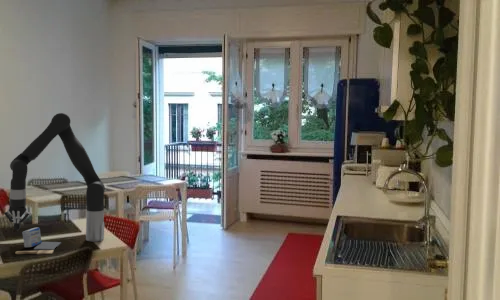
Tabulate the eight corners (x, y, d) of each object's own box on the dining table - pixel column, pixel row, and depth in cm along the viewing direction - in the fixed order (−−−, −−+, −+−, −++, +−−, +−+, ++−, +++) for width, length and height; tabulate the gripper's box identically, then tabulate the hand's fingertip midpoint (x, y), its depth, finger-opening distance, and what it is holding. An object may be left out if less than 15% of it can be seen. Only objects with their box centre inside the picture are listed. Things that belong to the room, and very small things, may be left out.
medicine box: (31, 247, 220) (29, 230, 220) (24, 247, 221) (21, 231, 221) (42, 243, 228) (39, 227, 227) (34, 243, 229) (32, 227, 228)
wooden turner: (53, 251, 218) (53, 249, 218) (52, 253, 214) (52, 251, 214) (17, 252, 214) (17, 250, 213) (14, 255, 209) (14, 253, 209)
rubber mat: (61, 243, 232) (61, 242, 232) (53, 250, 220) (53, 249, 220) (42, 242, 231) (42, 241, 231) (33, 249, 219) (33, 248, 219)
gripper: (34, 196, 226) (33, 228, 227) (8, 195, 225) (7, 227, 226) (28, 199, 219) (27, 232, 220) (1, 198, 217) (0, 231, 219)
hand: (17, 229), depth 223 cm, fingers closed
